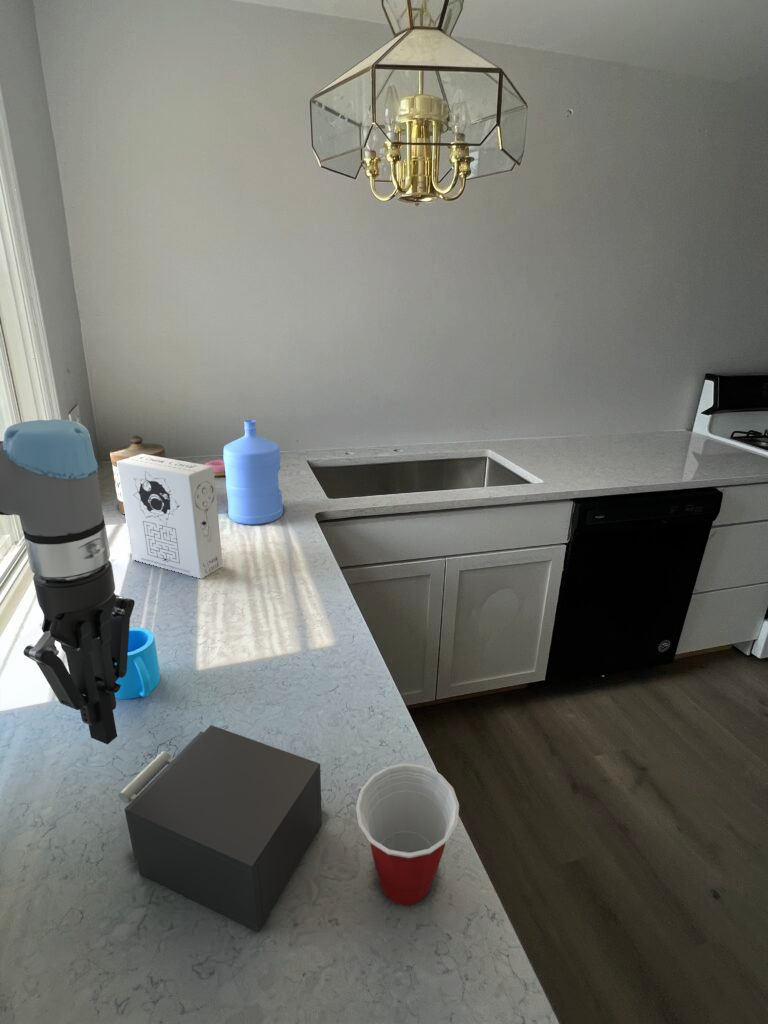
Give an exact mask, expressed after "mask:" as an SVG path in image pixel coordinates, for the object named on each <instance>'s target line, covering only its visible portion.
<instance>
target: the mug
mask: <svg viewBox="0 0 768 1024" xmlns="http://www.w3.org/2000/svg"><path fill="white" fill-rule="evenodd" d="M115 665H117V663H115ZM160 682H161V671H160V666H159V657H158V652H157V645H156V639H155V635H154V632H153V631H151V630H150V629H148V628H145V627H137V626H136V627H129V642H128V658H127V672H126V675H125V676H124V677H123V678H120V677H119V678H118V680H117V681H116V683H117V684H120V685H121V687H120V689H119V691H118V692H116V693H115V699H118V700H131V699H136V698H140V697H142V698H146V697H148V696H150V695H151V693H152V691H153V690H155V688H157V686H158V685H159V683H160Z"/></svg>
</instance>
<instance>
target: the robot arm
mask: <svg viewBox="0 0 768 1024" xmlns="http://www.w3.org/2000/svg"><path fill="white" fill-rule="evenodd" d="M98 469H99V464H98V461H97V459H96V456H95V452H94V447H93V442H92V439H91V434H90V432H89V430H88V429H87V427H86V426H84V425H83V424H81V423H80V422H78V421H75V420H74V421H73V420H69V419H56V418H55V419H46V420H45V419H37V420H36V419H35V420H28V421H22V422H18V423H15V424H11V425H10V426H8V427H7V428H6V429H5V430H4V431H3V433H2V440H0V516H18V517H19V522H20V526H21V530H22V532H23V537H24V544H25V548H26V553H27V559H28V564H29V568H30V570H31V572H32V573H33V577H32V580H33V586H34V589H35V594H36V599H37V604H38V605H39V608H40V610H41V611H42V613H43V621H42V625H41V630H42V631H41V632H43V634H42V635H41V636H40V638H39V639H38V640H37V642H36V644H28V645H26V647H25V648H24V650H23V655H24V656H25V657H27V658H28V659H30V660H31V661H33V662H35V664H37V666H38V669H40V671H41V673H42V675H43V677H44V678H45V680H46V681H47V683H48V685H49V687H50V688H51V690H52V692H53V693H54V695H55V696H56V697H55V698H56V699H57V700H58V702H59V703H60V704H61V705H63V706H66V707H69V708H71V709H73V710H75V711H79V713H80V718H81V721H82V722H83V724H86V725H88V730H89V735H90V738H91V739H93V740H95V741H98V742H100V743H102V744H105V745H107V746H108V745H109V744H111V742H113V741H114V740H115V739H116V738H117V737H118V733H117V726H116V721H115V715H114V710H115V709H116V708H117V700H116V699H117V698H115V693H116V692H118V691H119V689H120V687H121V685H120V684H117V683H116V681H117V680H118V678H119V677H120V678H123V677H124V676H125V675H126V672H127V658H128V642H129V628H130V627H131V626H130V624H131V616H132V613H133V611H134V609H135V608H134V607H135V600H134V599H132V598H128V597H126V596H123V595H122V596H121V595H119V594H116V593H115V592H116V583H115V577H114V571H113V570H114V569H113V564H112V562H111V561H110V556H111V552H110V551H111V550H110V547H109V546H110V545H109V540H108V532H107V526H106V522H105V517H104V511H103V505H102V497H101V490H100V482H99V476H98ZM55 642H58V643H60V647H61V650H62V651H64V653H65V656H66V657H65V658H66V662H67V667H68V669H67V667H66V665H65V662H64V661H63V660H62V659H61V658H60V657H59V656H58V655H59V653H60V651H59V650H58V648H57V646H56V643H55ZM115 663H117V665H115Z"/></svg>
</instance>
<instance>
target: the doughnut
mask: <svg viewBox="0 0 768 1024" xmlns="http://www.w3.org/2000/svg"><path fill="white" fill-rule="evenodd" d="M204 465H208V466H213V468H214V478H215V477H217V478H218V477H219V476H220V477H226V474H225V463H224V459H214V460H210V461H207V462H205V463H204Z"/></svg>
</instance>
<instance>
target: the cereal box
mask: <svg viewBox="0 0 768 1024" xmlns="http://www.w3.org/2000/svg"><path fill="white" fill-rule="evenodd" d="M117 468H118V474H119V480H120V486H121V492H122V498H123V505H124V511H125V515H124V516H125V521H126V522H125V523H126V528H127V535H128V540H129V547H130V553H131V559H132V560H133V561H135V560H136V561H135V562H138V561H139V562H138V563H142V562H143V563H142V564H145V563H146V565H149V564H150V565H149V566H153V565H154V566H153V567H156V566H157V568H160V567H161V569H163V568H165V569H164V570H167V569H168V570H167V571H171V570H172V571H171V572H174V571H175V573H178V572H179V573H178V574H181V573H182V575H185V576H189V577H192V576H193V578H196V577H197V578H196V579H199V578H200V579H201V580H202V579H204V578H206V577H208V576H209V575H211V574H212V573H214V572H216V571H217V570H219V569H220V568H222V567H223V565H224V562H223V552H222V551H223V550H222V542H221V531H220V521H219V512H218V499H217V490H216V480H215V476H214V468H213V466H208V465H205V464H202V463H201V464H200V463H196V462H191V461H184V460H181V459H173V458H169V457H166V458H163V457H157V456H151V455H146V454H140V455H136V456H133V457H130V458H126V459H123V460H120V461H117ZM210 573H211V574H210ZM205 576H206V577H205ZM200 579H199V580H200Z"/></svg>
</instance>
